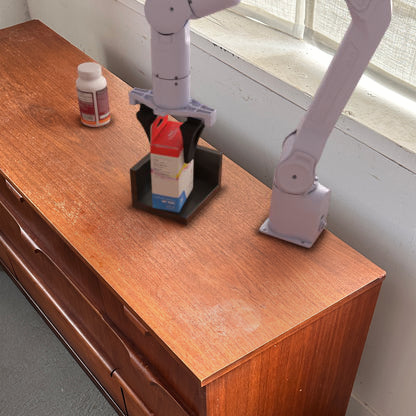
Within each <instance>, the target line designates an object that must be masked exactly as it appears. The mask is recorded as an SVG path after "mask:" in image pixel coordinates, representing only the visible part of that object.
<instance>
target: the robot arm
mask: <svg viewBox="0 0 416 416" xmlns="http://www.w3.org/2000/svg"><path fill="white" fill-rule="evenodd" d="M343 1H344V2H345V4H346V7H347V9H348V12H349V15H350V19H351V21H350V22H349V24H348V27H347V29H346V30H345V33H344V35H343V37H342V39H341V41H340V43H339V45H338V47H337V48H336V50H335V53H334V55H333V56H332V58H331V61H330V63H329V65H328V67H327V69H326V70H325V73H324V75H323V77H322V79H321V81H320V83H319V85H318V87H317V90H316V91H315V93H314V95H313V97H312V99H311V101H310V103H309V105H308V107H307V109H306V111H305V113H304V115H303V117H301V119H300V120H299V122H298V124H297V126H296V127H295V129H293V130H292V131H290V132H289V133H288V134H286V136H285V138H284V139H283V141H282V146H281V151H280V155H279V159H278V162H277V165H276V166H275V169H274V174H273V179H272V186H271V196H270V205H269V214H268V217H267V218H266V220H265V221H264V222H263V223H262V224H261V225H260V227H259V229H258V231H259V233H262V234H266V235H267V236H270V237H274V238H277V239H280V240H283V241H286V242H288V243H292V244H294V245H298V246H301V247H304V248H307V249H310V248H311V247H312V246H313V245H314V243H315V242H316V240H317V239H318V238H319V236H320V235H321V234H322V232H323V230H324V229H325V227H326V226H327V218H328V213H329V209H330V202H331V198H332V191H331V189H330V188H327V187H325V186H324V185H322V184H321V183H320V181H319V176H317V168H318V164H319V161H320V160H321V157H322V155H323V152H324V150H325V148H326V145H327V142H328V140H329V137H330V136H331V133H332V132H333V130H334V128H335V126H336V124H337V123H338V121H339V119H340V117H341V116H342V113H343V111H344V110H345V108H346V106H347V104H348V102H349V100H350V99H351V97H352V94H353V93H354V91H355V90H356V88H357V86H358V84H359V82H360V80H361V79H362V77H363V74H364V73H365V71H366V70H367V67H368V66H369V64H370V62H371V60H372V59H373V56H374V55H375V53H376V51H377V49H378V47H379V46H380V44H381V42H382V40H383V39H384V37H385V34H386V32H387V30H388V29H389V27H390V24H391V22H392V18H393V17H392V16H393V0H343ZM241 2H242V0H145V1H144V5H143V10H144V11H143V13H144V17H145V19H146V21H147V23H148V25H149V27H150V57H151V58H150V60H151V61H150V63H151V77H152V78H151V83H152V85H151V86H152V89H147V88H139V87H134V88H132V89H131V90H129V91H128V93H127V94H128V104H129V105H132V106H136V105H139V110H138V111H136V113H135V118H136V120H137V121H138V122H139V124H140V125H141V127H142V129H143V130H144V133H145V135H146V137H147V140H148V143H149V144H150V131H151V125H152V123H153V122H154V121H155V119H156V118H157V117H158V115H159V116H163V117H164V116H166V115H168V116H175V117H176V116H178V117H182V118H185V119H186V120H185V121H184V122H182V123H183V124H182V125H180V131H181V135H182V139H183V157H184V163H186V164H189V163H190V162H191V161H192V160H193V159H194V155H195V150H196V147H197V144H198V143H199V140H200V138H201V136H202V133H203V131H204V130H205V127H209V128H210V127H212V126H213V125H214V124H215V123H217V108H212V107H210V106H208V105H206V104H204V103H202V102H200V101H198V100H196V99H195V98H193V97H191V20H193V21H195V20H200V19H203V18H205V17H208V16H210V15H214V14H218V13H219V12H223V11H225V10H228V9H231V8H233V7H236V6H239V4H240V3H241ZM161 121H162V119H160V121H159V123H158V125H157V127H158V126H159V124H160V123H161Z"/></svg>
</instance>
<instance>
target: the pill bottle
mask: <svg viewBox="0 0 416 416" xmlns="http://www.w3.org/2000/svg"><path fill="white" fill-rule="evenodd" d="M77 75H78V77H77V78H76V80H75V88H76V94H77V102H78V109H79V116H80V121H81V123H82V124H83V125H85V126H86V127H91V128H98V127H103V126H106V125H107V124H108V123H109V122H110V121H111V110H110V100H109V90H108V82H107V79H106V77H105V76H104V75H103V71H102V66H101V64H99V63H96V62H94V61H93V62H91V61H89V62H88V61H87V62H83V63H80V64H79V65H78V66H77Z"/></svg>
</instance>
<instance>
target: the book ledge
mask: <svg viewBox="0 0 416 416" xmlns="http://www.w3.org/2000/svg"><path fill="white" fill-rule="evenodd" d="M223 153H224V152H223V151H220V150H217V149H213V148H211V147H207V146H205V145H201V144H198V143H197V147H196V150H195V155H194V159H193V189H192V190H191V192H190V194H189V196H188V197H187V199H186V201H185V202H184V204H183V206H182V208H181V209H180V211H179V212H173V211H168V210H163V209H157V208H153V203H152V178H151V155H150V151H148V153H147V154H145V156H143V157H142V158H141V159H140V160H138V161H136V163H135V164H134V165H132V166H131V167H130V168H129V179H130V193H131V206H132V208H133V209H136V210H140V211H142V212H145V213H148V214H151V215H154V216H157V217H160V218H163V219H166V220H169V221H170V222H171V221H172V222H175V223H176V224H180V225H183V226H188V224H190V223H191V221H193V219H194V218H195V217H196V216H198V214H200V212H201V211H202V210H203V209H204V208H205V207H206V206H207V205H208V204H209V203H210V201H212V199H213V198H214V197H216V195H217V194H218V193H219V192H220V191H221V190H222V176H223V175H222V174H223V156H224V154H223Z"/></svg>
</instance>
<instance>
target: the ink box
mask: <svg viewBox="0 0 416 416" xmlns="http://www.w3.org/2000/svg"><path fill="white" fill-rule="evenodd" d="M160 119H162V121H161V123H160V124H159V126H158V127H157V125H158V123H159V121H160ZM183 123H184V122H180V121H173V120H169V115H166V116H164V117H163V116H159V115H158V117H157V118H156V119H155V121H154V122H153V123H152V125H151V131H150V143H149V152H150V155H151V178H152V203H153V208H157V209H163V210H168V211H173V212H179V211H180V209H181V208H182V206H183V204H184V202H185V201H186V199H187V197H188V196H189V194H190V192H191V190H192V189H193V160H192V161H191V162H190V163H189V164H186V163H184V157H183V139H182V135H181V131H180V125H182V124H183Z"/></svg>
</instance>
